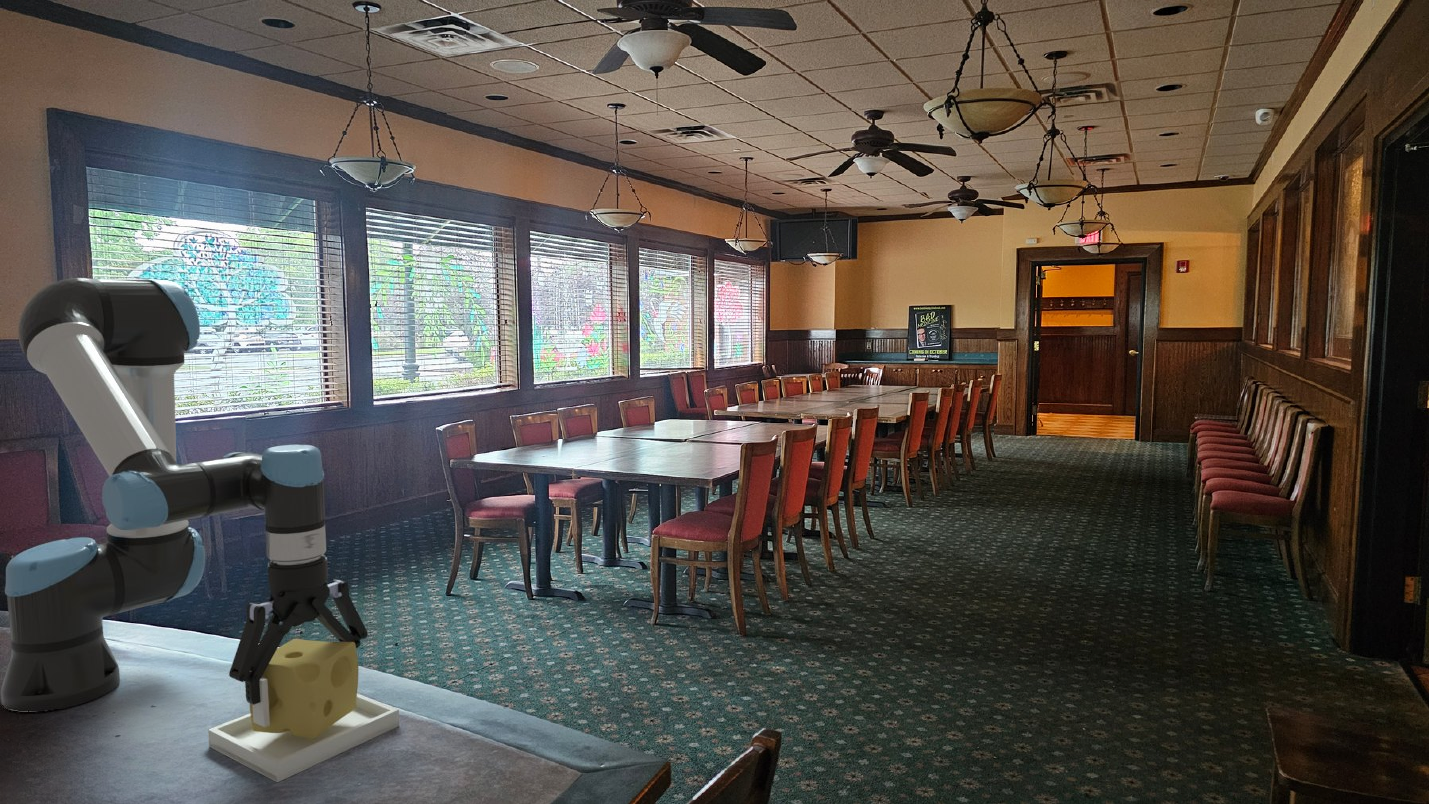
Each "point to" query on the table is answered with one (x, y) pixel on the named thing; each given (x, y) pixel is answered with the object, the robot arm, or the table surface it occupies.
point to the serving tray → (301, 740)
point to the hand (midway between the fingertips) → (305, 706)
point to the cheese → (310, 686)
